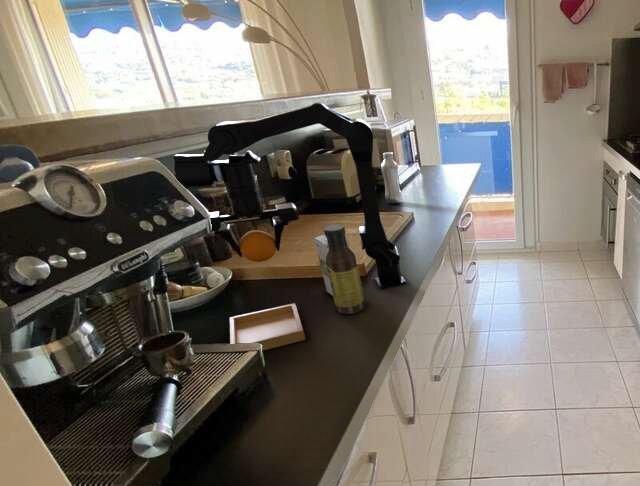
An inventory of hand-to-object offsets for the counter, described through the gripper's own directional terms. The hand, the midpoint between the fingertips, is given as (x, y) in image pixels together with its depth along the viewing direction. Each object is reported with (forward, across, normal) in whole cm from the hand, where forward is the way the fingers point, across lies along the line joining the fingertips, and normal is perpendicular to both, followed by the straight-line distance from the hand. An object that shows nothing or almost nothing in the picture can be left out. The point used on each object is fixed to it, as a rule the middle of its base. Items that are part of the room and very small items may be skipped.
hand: (260, 253), depth 102 cm
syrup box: (+12, -15, +5) cm, 20 cm away
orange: (-2, 0, 0) cm, 2 cm away
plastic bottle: (+12, -49, -71) cm, 87 cm away
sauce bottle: (+12, -15, +15) cm, 24 cm away
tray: (+12, +2, +17) cm, 21 cm away
